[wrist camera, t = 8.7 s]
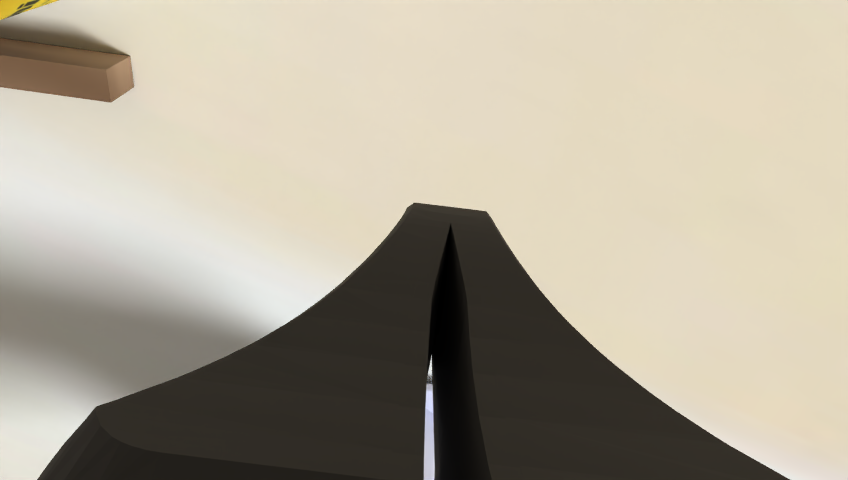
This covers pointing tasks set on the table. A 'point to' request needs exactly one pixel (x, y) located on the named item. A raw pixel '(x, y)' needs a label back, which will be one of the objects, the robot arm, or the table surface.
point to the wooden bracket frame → (64, 70)
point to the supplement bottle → (19, 6)
